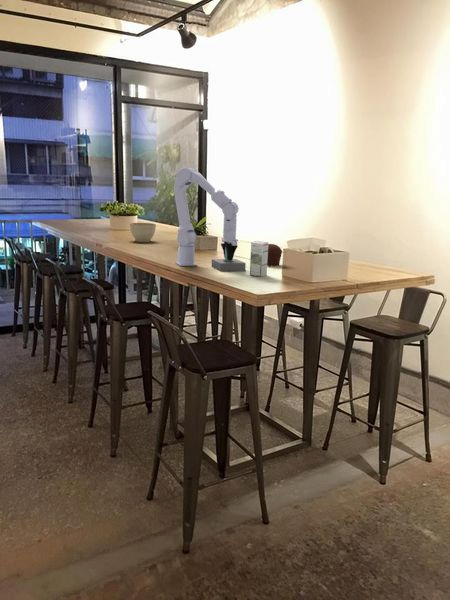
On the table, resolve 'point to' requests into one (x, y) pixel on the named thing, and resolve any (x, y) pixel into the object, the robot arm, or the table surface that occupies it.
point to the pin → (226, 256)
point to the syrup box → (258, 258)
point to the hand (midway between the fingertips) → (228, 259)
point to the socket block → (228, 265)
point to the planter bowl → (142, 231)
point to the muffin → (273, 255)
